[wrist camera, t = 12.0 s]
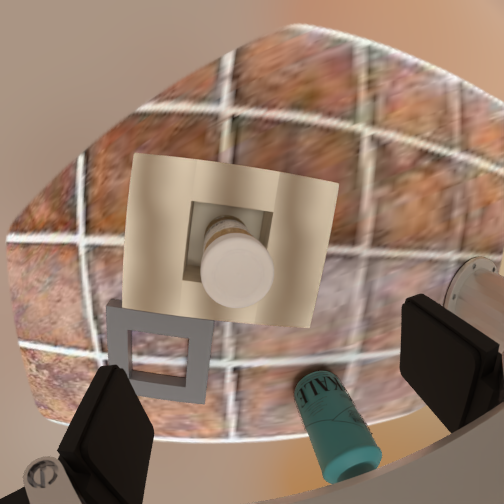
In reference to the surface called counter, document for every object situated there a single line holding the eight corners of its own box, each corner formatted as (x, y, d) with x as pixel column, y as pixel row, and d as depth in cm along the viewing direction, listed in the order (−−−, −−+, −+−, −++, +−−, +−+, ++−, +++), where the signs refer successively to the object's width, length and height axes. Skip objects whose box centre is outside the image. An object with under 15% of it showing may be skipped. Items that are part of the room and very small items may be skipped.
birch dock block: (318, 182, 33) (339, 183, 27) (294, 304, 36) (309, 328, 30) (148, 157, 30) (134, 153, 24) (136, 286, 33) (122, 307, 27)
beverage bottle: (319, 404, 40) (370, 515, 20) (279, 393, 38) (320, 517, 19) (345, 369, 39) (415, 477, 19) (305, 355, 37) (367, 478, 18)
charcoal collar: (214, 313, 35) (214, 320, 33) (204, 394, 37) (204, 404, 35) (111, 298, 33) (106, 305, 31) (115, 381, 35) (111, 390, 34)
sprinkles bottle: (216, 265, 32) (221, 322, 19) (196, 226, 31) (186, 258, 18) (256, 246, 32) (287, 290, 19) (237, 206, 31) (257, 224, 18)
